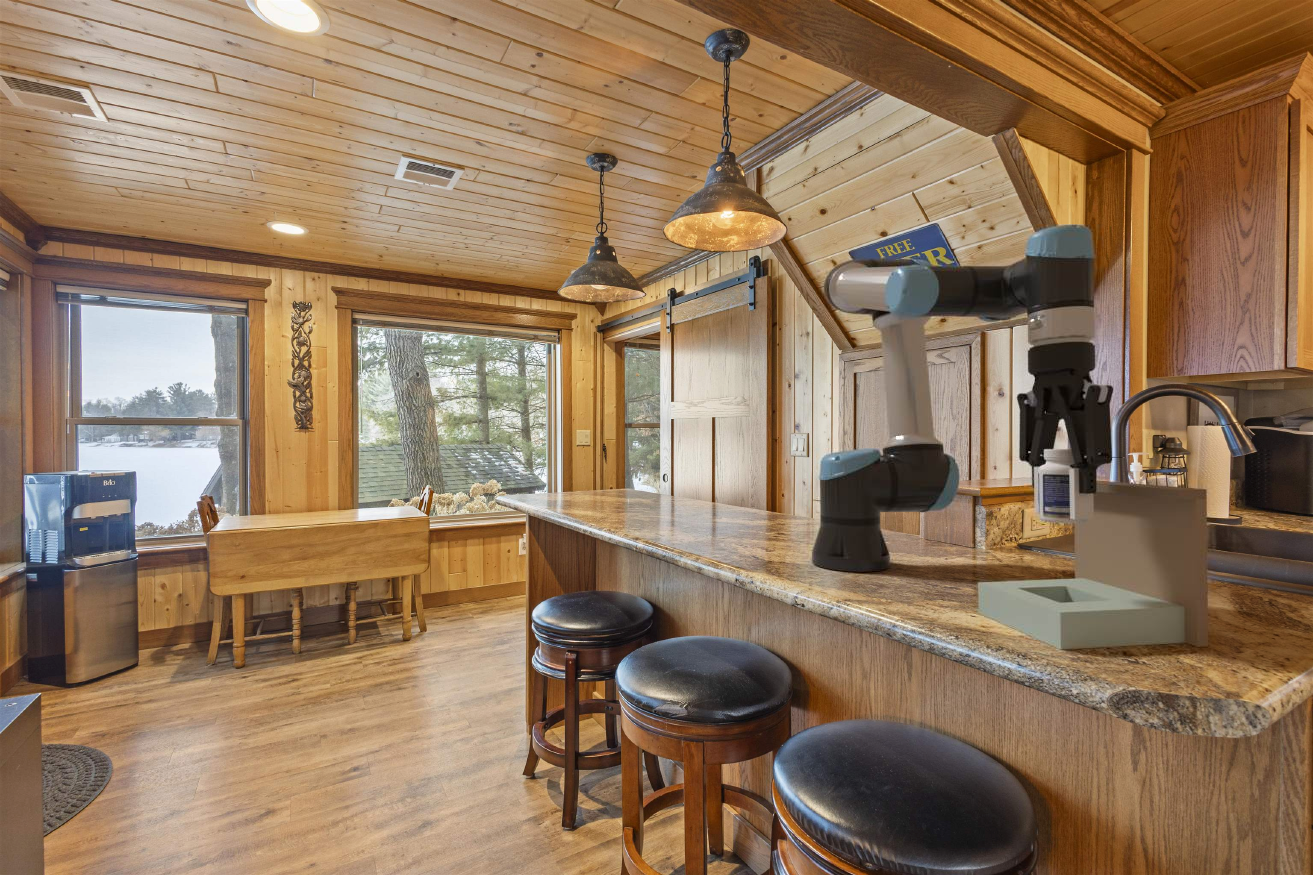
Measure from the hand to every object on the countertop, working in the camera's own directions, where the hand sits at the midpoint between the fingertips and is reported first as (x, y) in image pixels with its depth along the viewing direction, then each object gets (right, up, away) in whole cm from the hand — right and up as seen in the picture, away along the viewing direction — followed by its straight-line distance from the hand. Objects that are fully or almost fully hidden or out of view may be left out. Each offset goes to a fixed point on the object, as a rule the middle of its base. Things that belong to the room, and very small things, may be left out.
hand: (1062, 515), depth 79 cm
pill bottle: (0, -1, 0) cm, 1 cm away
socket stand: (+2, -15, 0) cm, 15 cm away
